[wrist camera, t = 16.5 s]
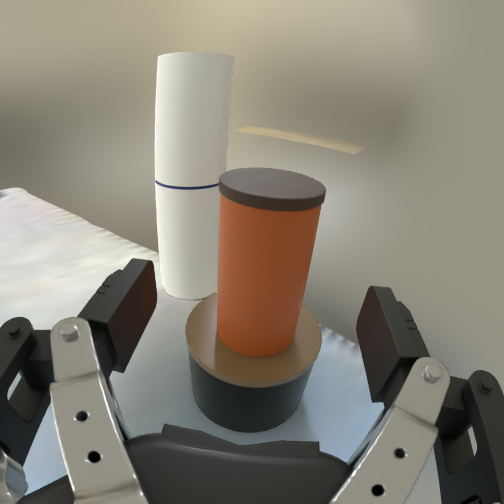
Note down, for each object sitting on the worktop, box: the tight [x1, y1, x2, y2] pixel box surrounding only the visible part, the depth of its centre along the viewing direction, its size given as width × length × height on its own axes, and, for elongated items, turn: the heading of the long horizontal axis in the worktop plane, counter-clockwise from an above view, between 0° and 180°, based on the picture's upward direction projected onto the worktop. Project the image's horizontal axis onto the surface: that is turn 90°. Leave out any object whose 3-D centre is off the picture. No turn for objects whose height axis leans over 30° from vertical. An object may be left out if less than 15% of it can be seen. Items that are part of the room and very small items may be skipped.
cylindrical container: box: [155, 52, 234, 300], centre depth 30 cm, size 7×7×25 cm
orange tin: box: [217, 168, 326, 357], centre depth 17 cm, size 5×5×10 cm
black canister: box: [185, 293, 322, 432], centre depth 22 cm, size 9×9×7 cm
